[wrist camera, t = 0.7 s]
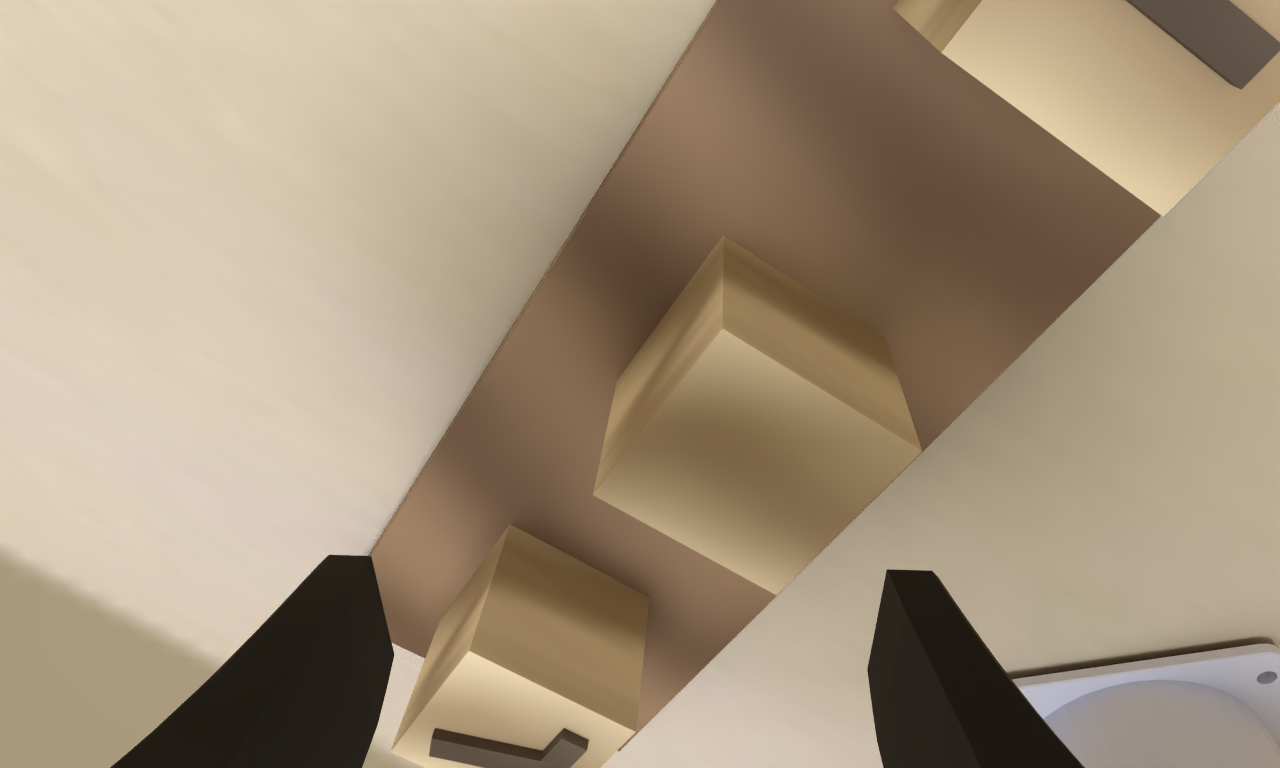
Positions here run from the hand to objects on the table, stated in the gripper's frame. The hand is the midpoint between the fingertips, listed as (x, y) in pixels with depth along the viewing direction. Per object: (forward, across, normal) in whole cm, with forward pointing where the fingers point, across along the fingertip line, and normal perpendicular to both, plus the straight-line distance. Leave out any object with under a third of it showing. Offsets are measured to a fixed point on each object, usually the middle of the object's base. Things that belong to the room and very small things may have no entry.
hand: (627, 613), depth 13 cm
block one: (+9, -8, -7) cm, 14 cm away
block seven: (+9, +3, +10) cm, 14 cm away
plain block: (+9, -2, +1) cm, 10 cm away
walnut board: (+10, -2, +1) cm, 11 cm away
